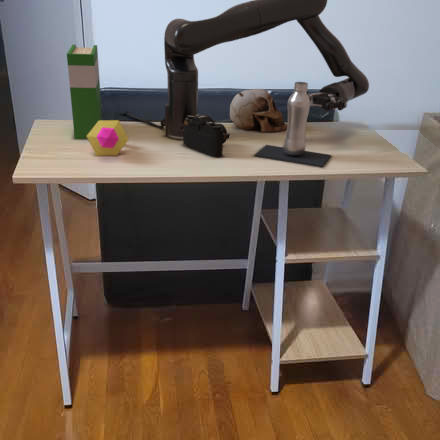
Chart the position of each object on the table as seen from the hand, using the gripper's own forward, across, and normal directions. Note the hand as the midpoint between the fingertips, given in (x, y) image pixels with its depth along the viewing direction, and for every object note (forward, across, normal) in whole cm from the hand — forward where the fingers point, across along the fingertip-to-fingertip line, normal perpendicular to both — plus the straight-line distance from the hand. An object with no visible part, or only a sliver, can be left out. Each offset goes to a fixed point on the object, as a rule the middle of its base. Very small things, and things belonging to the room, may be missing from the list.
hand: (313, 105), depth 164 cm
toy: (+42, -43, +13) cm, 61 cm away
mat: (+10, 0, +13) cm, 16 cm away
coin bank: (-11, -23, +13) cm, 29 cm away
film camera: (+20, -24, +13) cm, 34 cm away
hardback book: (+29, -63, +13) cm, 70 cm away
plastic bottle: (+10, 0, +12) cm, 16 cm away
